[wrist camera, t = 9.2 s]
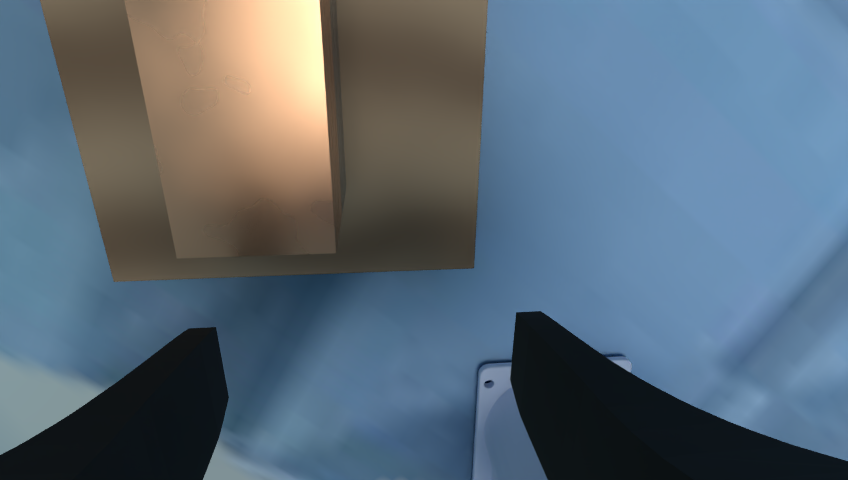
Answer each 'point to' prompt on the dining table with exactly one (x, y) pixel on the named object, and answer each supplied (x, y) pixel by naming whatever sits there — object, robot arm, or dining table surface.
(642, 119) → the dining table surface
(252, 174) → the brown rectangular block
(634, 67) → the dining table surface
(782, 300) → the dining table surface
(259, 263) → the walnut stand
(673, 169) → the dining table surface
